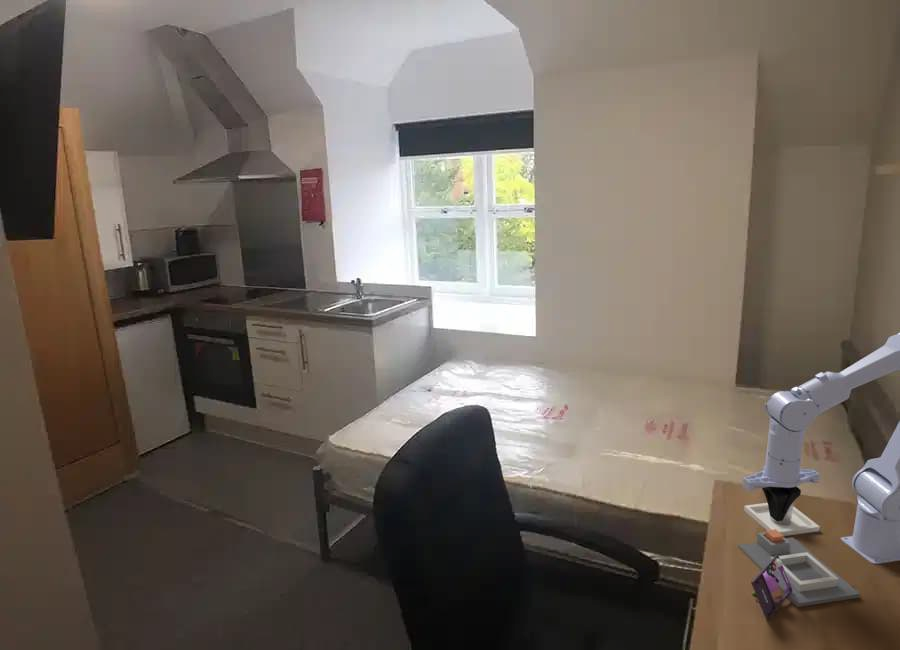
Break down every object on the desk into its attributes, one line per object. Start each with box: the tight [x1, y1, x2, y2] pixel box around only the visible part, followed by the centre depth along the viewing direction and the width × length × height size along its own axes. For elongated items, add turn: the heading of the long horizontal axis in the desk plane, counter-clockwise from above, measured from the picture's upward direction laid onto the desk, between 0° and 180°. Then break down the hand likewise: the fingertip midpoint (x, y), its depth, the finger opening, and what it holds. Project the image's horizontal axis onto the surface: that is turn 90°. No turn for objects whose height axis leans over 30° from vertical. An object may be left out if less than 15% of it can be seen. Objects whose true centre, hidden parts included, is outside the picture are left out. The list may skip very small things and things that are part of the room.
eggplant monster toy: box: [750, 555, 792, 620], centre depth 101 cm, size 7×5×9 cm
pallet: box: [737, 531, 861, 608], centre depth 108 cm, size 12×16×3 cm
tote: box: [743, 502, 821, 537], centre depth 123 cm, size 10×10×1 cm
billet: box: [770, 501, 795, 526], centre depth 122 cm, size 4×4×6 cm
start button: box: [764, 529, 785, 543], centre depth 113 cm, size 2×2×2 cm
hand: (776, 518), depth 112 cm, fingers closed
